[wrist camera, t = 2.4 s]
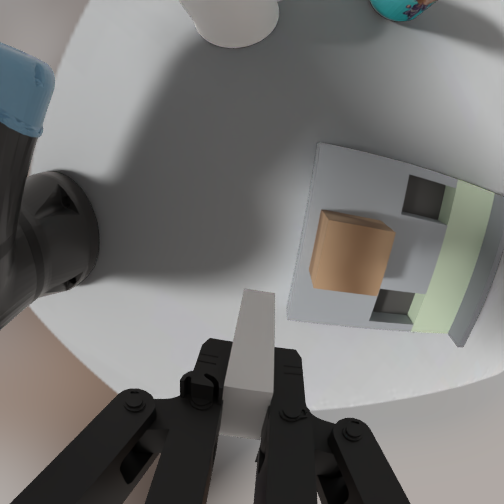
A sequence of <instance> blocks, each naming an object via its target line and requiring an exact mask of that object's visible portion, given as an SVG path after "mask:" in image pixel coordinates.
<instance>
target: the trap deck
mask: <svg viewBox="0 0 504 504" xmlns="http://www.w3.org/2000/svg"><path fill="white" fill-rule="evenodd" d="M321 209H322V210H328V211H334V212H339V213H345V214H350V215H355V216H360V217H366V218H371V219H376V220H381V221H382V222H383V223H385V224H386V225H387V226H388V227H390V228H391V229H392V230H393V231H395V232H396V234H395V238H394V242H393V246H392V249H391V253H390V256H389V260H388V263H387V267H386V270H385V273H384V277H383V280H382V283H381V286H380V289H379V292H378V295H377V296H370V295H362V294H354V293H346V292H338V291H331V290H323V289H316V288H313V284H312V280H311V276H310V273H309V266H310V261H311V257H312V252H313V247H314V243H315V238H316V233H317V228H318V223H319V218H320V212H321ZM503 250H504V196H501V195H499V194H496V193H493V192H491V191H488V190H486V189H483V188H480V187H478V186H475V185H472V184H470V183H467V182H464V181H462V180H459V179H456V178H453V177H450V176H447V175H444V174H441V173H438V172H435V171H432V170H429V169H426V168H422V167H419V166H416V165H412V164H409V163H405V162H402V161H398V160H395V159H391V158H387V157H383V156H379V155H375V154H371V153H367V152H363V151H359V150H355V149H350V148H346V147H341V146H336V145H331V144H327V143H317V149H316V155H315V161H314V168H313V174H312V180H311V186H310V191H309V197H308V203H307V208H306V214H305V219H304V225H303V230H302V235H301V241H300V246H299V251H298V256H297V261H296V266H295V271H294V276H293V281H292V285H291V290H290V295H289V299H288V304H287V320H292V321H300V322H308V323H317V324H326V325H335V326H345V327H355V328H367V329H379V330H392V331H407V332H424V333H446V334H448V335H449V336H450V337H451V339H452V340H453V341H454V343H455V344H456V346H457V347H464V345H465V343H466V341H467V339H468V337H469V335H470V333H471V331H472V329H473V327H474V325H475V322H476V320H477V318H478V316H479V314H480V311H481V309H482V307H483V304H484V302H485V300H486V297H487V295H488V292H489V290H490V287H491V285H492V282H493V279H494V276H495V274H496V271H497V268H498V265H499V262H500V259H501V256H502V253H503Z"/></svg>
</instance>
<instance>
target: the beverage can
mask: <svg viewBox="0 0 504 504" xmlns="http://www.w3.org/2000/svg"><path fill="white" fill-rule="evenodd" d="M436 1H438V0H370V2H371V5H372V7H373V8H374V9H375V10H376V12H377V13H379V14H380V15H381V16H383V17H384V18H386V19H389V20H392V21H409V20H412V19H414V18H415V17H417V16H418V15H419V14H420V13H422V12H423V11H424V10H426V9H427V8H428V7H430V6H431V5H432V4H434V3H435V2H436Z"/></svg>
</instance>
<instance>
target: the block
mask: <svg viewBox="0 0 504 504" xmlns="http://www.w3.org/2000/svg"><path fill="white" fill-rule="evenodd" d="M395 234H396V232H395V231H393V230H392V229H391V228H390V227H388V226H387V225H386V224H385V223H383V222H382V221H381V220H376V219H371V218H366V217H360V216H355V215H350V214H345V213H339V212H334V211H328V210H322V209H321V212H320V218H319V223H318V228H317V233H316V238H315V243H314V247H313V252H312V257H311V261H310V266H309V273H310V276H311V280H312V284H313V288H316V289H323V290H331V291H338V292H346V293H354V294H362V295H370V296H377V295H378V292H379V289H380V286H381V283H382V280H383V277H384V273H385V270H386V267H387V263H388V260H389V256H390V253H391V249H392V246H393V242H394V238H395Z"/></svg>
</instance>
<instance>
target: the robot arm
mask: <svg viewBox="0 0 504 504" xmlns="http://www.w3.org/2000/svg"><path fill="white" fill-rule="evenodd" d="M54 87H55V77H54V73H53V71H52V69H51V68H50V66H49V65H48V64H46V63H45V62H43V61H41V60H40V59H38V58H36V57H34V56H31V55H29V54H27V53H25V52H23V51H20V50H18V49H16V48H13V47H11V46H8V45H6V44H3V43H1V42H0V330H1V329H2V328H3V327H4V326H5V325H7V324H8V323H9V322H10V321H11V320H12V319H13V318H14V317H15V316H17V315H18V314H19V313H20V312H21V311H22V310H23V309H25V308H26V307H27V306H29V305H30V304H31V303H32V302H33V301H35V300H36V299H37V298H39V297H43V296H47V295H51V294H55V293H59V292H63V291H67V290H70V289H72V288H73V287H75V286H77V285H78V284H79V283H80V282H81V281H83V280H84V279H85V278H86V277H87V276H88V275H89V274H90V272H91V271H92V269H93V267H94V265H95V263H96V260H97V256H98V250H99V232H98V226H97V221H96V217H95V214H94V211H93V209H92V206H91V204H90V202H89V200H88V198H87V197H86V195H85V193H84V192H83V191H82V189H81V188H80V187H79V186H78V185H77V184H76V183H75V182H74V181H73V180H72V179H70V178H69V177H67V176H66V175H64V174H61V173H58V172H53V171H47V172H42V173H38V174H34V175H31V176H29V177H27V175H28V170H29V166H30V163H31V159H32V155H33V152H34V148H35V145H36V142H37V139H38V137H40V136H41V135H42V132H43V121H44V118H45V115H46V112H47V109H48V106H49V103H50V100H51V97H52V94H53V91H54ZM274 338H275V293H270V292H263V291H257V290H250V289H244V292H243V297H242V302H241V306H240V311H239V316H238V321H237V325H236V330H235V335H234V340H233V342H231V341H224V340H219V339H213V338H209V339H208V340H207V341H206V342H205V343H204V344H203V345H202V347H201V350H200V353H199V356H198V359H197V362H196V365H195V368H194V371H190V372H188V373H186V374H184V375H183V376H182V378H181V379H180V396H178V397H175V398H170V399H153V397H152V395H151V394H149V393H148V392H146V391H144V390H141V389H127V390H124V391H122V392H121V393H119V394H118V395H117V396H116V397H115V398H114V399H113V400H112V401H111V402H110V403H109V404H108V405H107V406H106V407H105V408H104V409H103V410H102V411H101V412H100V413H99V414H98V415H97V416H96V417H95V418H94V419H93V420H92V421H91V422H90V423H89V424H88V426H87V427H86V428H85V429H84V430H83V431H82V432H81V433H80V434H79V435H78V436H77V437H76V438H75V439H74V440H73V441H72V442H71V443H70V444H69V445H68V446H67V447H66V448H65V449H64V450H63V451H62V452H61V453H60V454H59V455H58V456H57V457H56V458H55V459H54V460H53V461H52V462H51V463H50V464H49V465H48V466H47V467H46V468H45V469H44V470H43V471H42V472H41V473H40V474H39V475H38V476H37V477H36V478H35V479H34V480H33V481H32V482H31V483H30V484H29V485H28V486H27V487H26V488H25V489H24V490H23V491H22V492H21V493H20V494H19V495H18V496H17V497H16V498H15V499H14V500H13V501H12V502H11V503H10V504H123V502H124V501H125V500H126V498H127V497H128V496H129V494H130V493H131V492H132V490H133V489H134V487H135V486H136V485H137V484H138V482H139V481H140V479H141V478H142V477H143V475H144V474H145V473H146V471H147V470H148V468H149V467H150V466H151V464H152V463H153V462H154V460H155V459H156V457H157V456H158V455H159V453H161V456H160V459H159V462H158V465H157V468H156V471H155V474H154V477H153V480H152V483H151V487H150V489H149V492H148V496H147V498H146V502H145V504H206V502H207V497H208V491H209V486H210V481H211V476H212V471H213V465H214V460H215V455H216V449H217V442H218V436H219V434H221V435H227V436H233V437H240V438H247V439H255V440H260V437H261V443H260V448H259V451H258V454H257V457H256V460H255V462H257V471H256V482H255V494H254V504H317V492H318V495H319V498H320V501H321V503H322V504H410V502H409V500H408V498H407V497H406V494H405V493H404V491H403V489H402V487H401V485H400V483H399V482H398V480H397V478H396V476H395V474H394V472H393V470H392V468H391V467H390V465H389V463H388V461H387V459H386V457H385V456H384V454H383V452H382V450H381V448H380V446H379V444H378V443H377V441H376V439H375V437H374V435H373V433H372V432H371V430H370V428H369V427H368V426H367V425H366V424H365V423H364V422H362V421H361V420H358V419H355V418H345V419H342V420H339V421H338V422H337V423H336V424H334V423H330V422H327V421H324V420H321V419H319V418H317V417H315V416H314V415H312V414H311V413H310V410H309V409H308V408H307V407H306V403H305V392H304V381H303V370H302V359H301V357H300V355H299V354H298V352H297V351H296V350H294V349H285V348H277V347H274Z"/></svg>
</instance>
